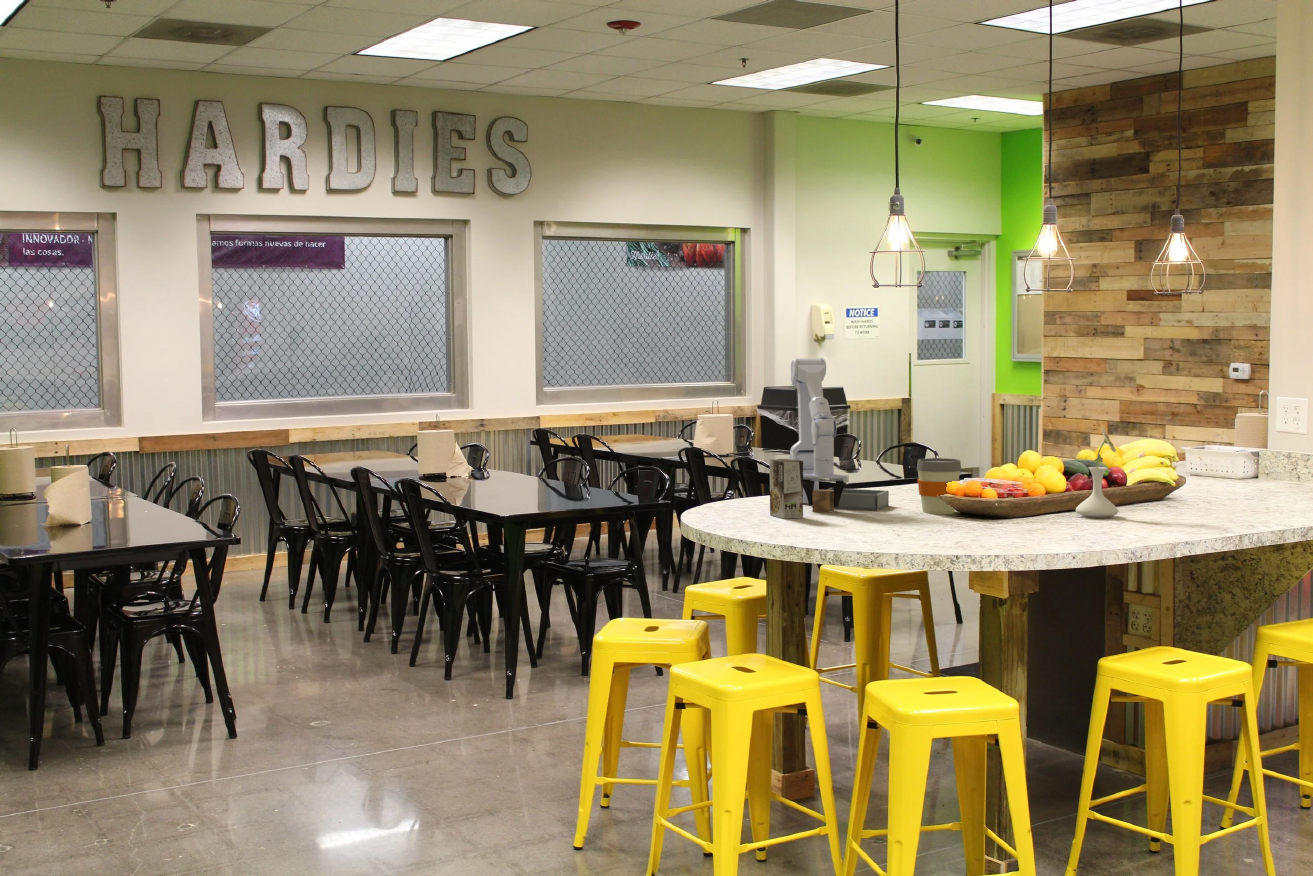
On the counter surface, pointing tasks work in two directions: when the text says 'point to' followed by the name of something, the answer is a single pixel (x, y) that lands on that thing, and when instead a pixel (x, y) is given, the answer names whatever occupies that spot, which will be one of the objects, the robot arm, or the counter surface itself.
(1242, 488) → the counter surface
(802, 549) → the counter surface
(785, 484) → the coffee box
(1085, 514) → the flower in vase
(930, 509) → the reusable coffee cup
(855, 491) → the slate bin
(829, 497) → the walnut block
